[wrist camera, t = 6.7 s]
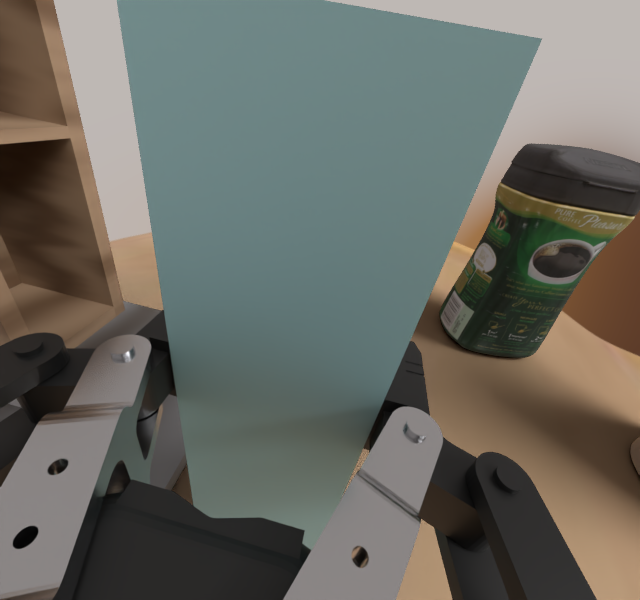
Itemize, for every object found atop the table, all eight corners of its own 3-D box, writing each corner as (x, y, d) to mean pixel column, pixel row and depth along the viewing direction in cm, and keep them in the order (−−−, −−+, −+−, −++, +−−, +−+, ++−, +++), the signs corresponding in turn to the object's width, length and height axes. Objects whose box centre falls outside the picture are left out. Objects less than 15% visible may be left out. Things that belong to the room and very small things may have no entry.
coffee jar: (504, 319, 37) (610, 153, 27) (543, 367, 30) (702, 171, 20) (428, 307, 36) (506, 132, 26) (450, 353, 30) (567, 143, 19)
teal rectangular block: (327, 479, 16) (473, 70, 7) (314, 559, 14) (542, 38, 4) (229, 452, 17) (227, 24, 7) (196, 523, 14) (110, -38, 4)
